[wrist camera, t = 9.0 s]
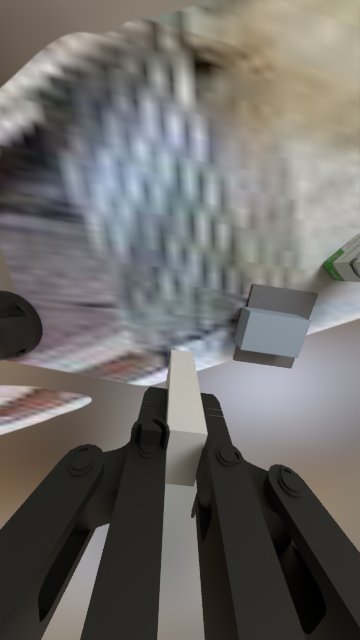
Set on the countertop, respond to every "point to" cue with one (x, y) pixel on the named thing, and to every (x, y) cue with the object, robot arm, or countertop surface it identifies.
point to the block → (271, 332)
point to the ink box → (345, 262)
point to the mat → (277, 302)
